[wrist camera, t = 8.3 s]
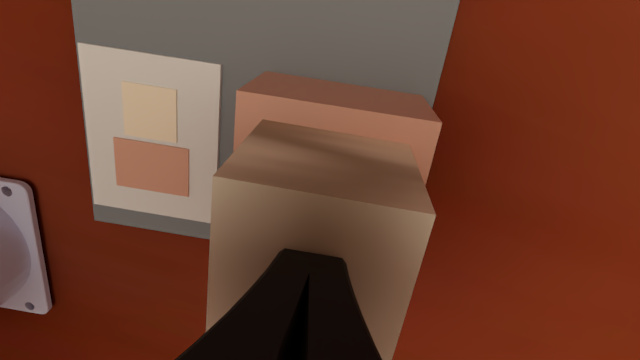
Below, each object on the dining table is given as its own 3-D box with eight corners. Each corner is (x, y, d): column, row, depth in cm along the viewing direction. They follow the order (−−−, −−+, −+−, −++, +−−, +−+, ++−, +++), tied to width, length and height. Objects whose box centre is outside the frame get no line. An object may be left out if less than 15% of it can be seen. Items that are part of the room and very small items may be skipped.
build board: (106, 210, 20) (94, 220, 19) (61, -299, 12) (37, -325, 11) (389, 257, 19) (391, 269, 18) (513, -240, 12) (526, -261, 11)
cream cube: (250, 243, 14) (205, 342, 10) (262, 119, 12) (212, 175, 8) (378, 266, 13) (386, 376, 9) (409, 144, 12) (436, 214, 8)
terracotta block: (254, 208, 18) (227, 260, 14) (265, 71, 15) (236, 90, 12) (389, 230, 17) (397, 289, 14) (422, 95, 15) (442, 122, 11)
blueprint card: (96, 201, 18) (92, 204, 18) (80, 41, 15) (75, 42, 15) (216, 221, 18) (214, 225, 18) (222, 64, 15) (219, 64, 15)
